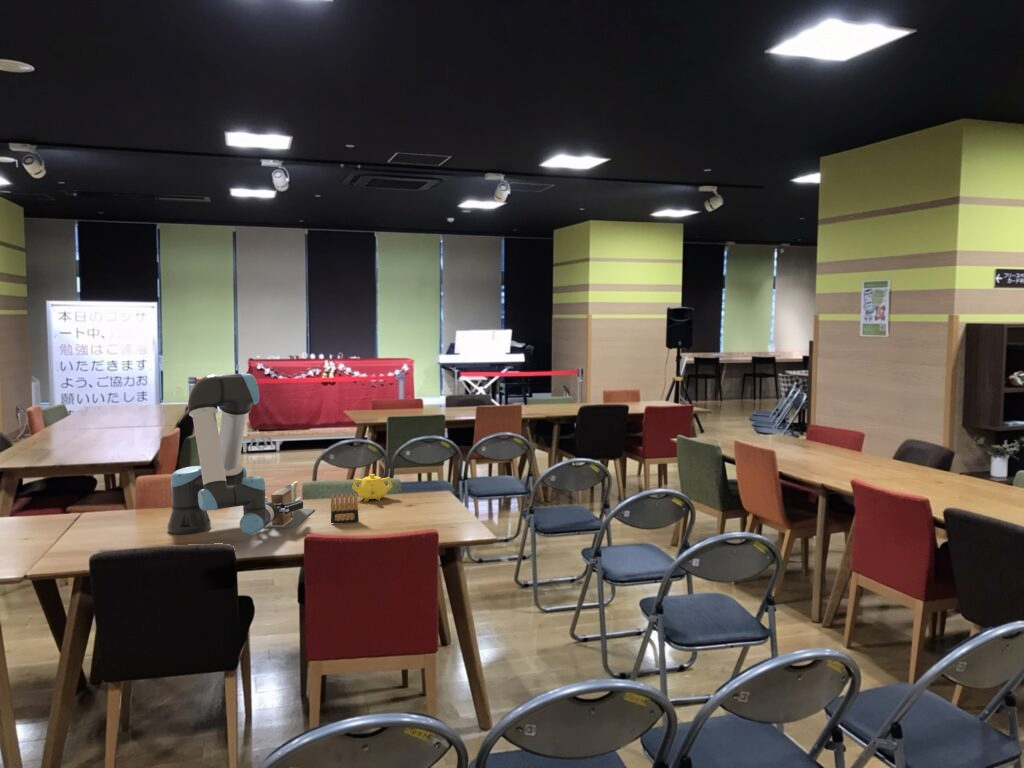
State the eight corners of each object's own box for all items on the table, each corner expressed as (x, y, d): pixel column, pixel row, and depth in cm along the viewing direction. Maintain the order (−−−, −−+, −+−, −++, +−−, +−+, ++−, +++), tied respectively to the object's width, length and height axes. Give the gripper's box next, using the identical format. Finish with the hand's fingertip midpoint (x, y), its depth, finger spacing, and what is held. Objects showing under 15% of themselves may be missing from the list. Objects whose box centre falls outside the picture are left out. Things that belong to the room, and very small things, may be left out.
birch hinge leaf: (290, 517, 306) (290, 485, 305) (284, 517, 306) (283, 485, 305) (300, 509, 318) (299, 479, 317) (294, 509, 318) (293, 479, 317)
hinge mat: (294, 528, 292) (294, 526, 292) (257, 528, 293) (257, 526, 293) (314, 510, 320) (314, 508, 320) (281, 510, 320) (281, 508, 320)
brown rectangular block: (272, 525, 294) (271, 494, 293) (281, 518, 305) (280, 488, 304) (283, 525, 294) (282, 494, 293) (291, 518, 305) (291, 488, 304)
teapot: (352, 494, 348) (352, 470, 347) (392, 493, 351) (391, 469, 350) (351, 505, 328) (350, 479, 327) (393, 503, 332) (393, 478, 331)
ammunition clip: (358, 521, 303) (357, 491, 302) (358, 522, 301) (358, 492, 300) (330, 523, 300) (330, 493, 299) (331, 524, 298) (330, 494, 297)
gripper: (231, 523, 281) (252, 509, 302) (298, 524, 280) (315, 509, 301) (230, 503, 280) (252, 490, 302) (298, 504, 280) (314, 490, 301)
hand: (283, 500), depth 302 cm, fingers open, 13 cm apart
